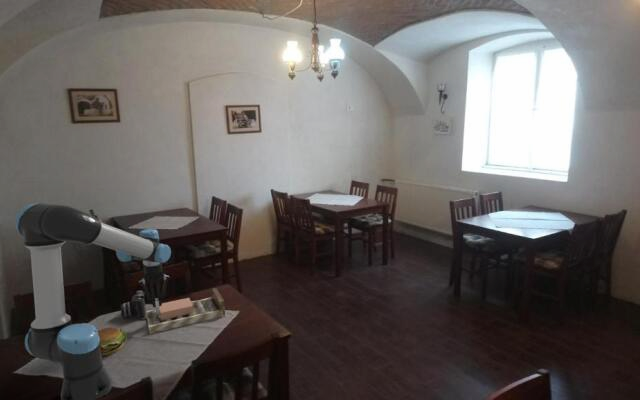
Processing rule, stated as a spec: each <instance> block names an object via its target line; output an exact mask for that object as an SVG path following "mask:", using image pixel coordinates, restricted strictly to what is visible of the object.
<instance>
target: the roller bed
mask: <svg viewBox="0 0 640 400" xmlns="http://www.w3.org/2000/svg"><path fill="white" fill-rule="evenodd" d="M211 291H212V296H211V297H207V298H202V299H199V300H198V299H197V300H191V303H192V305H193V312H194V313H191V314H187V315H182V316H178V317H173V318H169V319H165V320H161V317H160V314H157V313H156V308H155V309H150V310H146V318H147V324H148V325H147V326H148V331H149V333H148V334H149V335H150V334H155V333H159V332H162V331H166V330H172V329H176V328H179V327H184V326H189V325H192V324H196V323H200V322H201V323H202V322H205V321H209V320H214V319H217V318H222V317H226V309H225V308H226V307H225V300H224V298H223V297H222V295H221V293H220V291H219V290H218V289H217V288H215V287H214V288H212V289H211Z"/></svg>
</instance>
